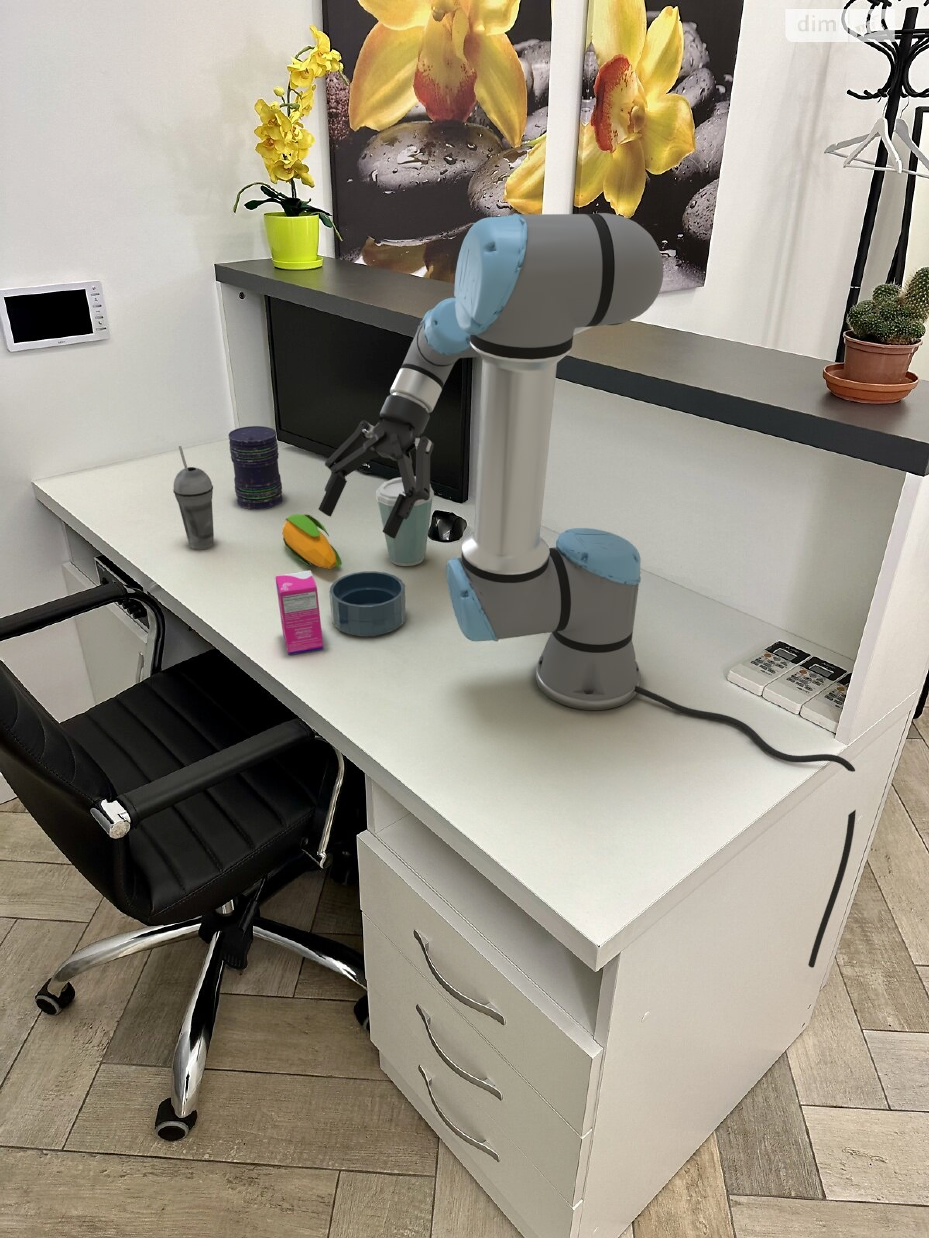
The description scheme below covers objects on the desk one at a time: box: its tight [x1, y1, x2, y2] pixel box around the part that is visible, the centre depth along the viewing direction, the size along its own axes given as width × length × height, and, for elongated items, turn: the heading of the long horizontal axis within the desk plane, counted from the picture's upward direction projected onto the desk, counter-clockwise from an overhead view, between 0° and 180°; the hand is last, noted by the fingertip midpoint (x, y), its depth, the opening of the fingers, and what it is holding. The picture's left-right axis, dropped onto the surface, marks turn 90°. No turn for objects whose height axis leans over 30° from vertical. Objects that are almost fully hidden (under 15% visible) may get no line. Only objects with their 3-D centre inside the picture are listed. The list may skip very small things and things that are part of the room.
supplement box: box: [274, 570, 325, 656], centre depth 138 cm, size 6×6×12 cm
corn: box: [282, 513, 343, 570], centre depth 165 cm, size 7×8×20 cm
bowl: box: [328, 570, 407, 637], centre depth 146 cm, size 12×12×6 cm
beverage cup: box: [172, 445, 215, 551], centre depth 167 cm, size 7×7×20 cm
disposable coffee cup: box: [375, 476, 435, 567], centre depth 164 cm, size 11×11×15 cm
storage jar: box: [228, 425, 284, 511], centre depth 188 cm, size 10×10×15 cm
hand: (355, 524), depth 141 cm, fingers open, 13 cm apart
